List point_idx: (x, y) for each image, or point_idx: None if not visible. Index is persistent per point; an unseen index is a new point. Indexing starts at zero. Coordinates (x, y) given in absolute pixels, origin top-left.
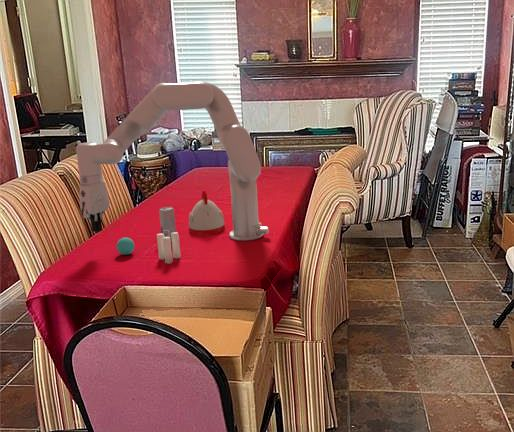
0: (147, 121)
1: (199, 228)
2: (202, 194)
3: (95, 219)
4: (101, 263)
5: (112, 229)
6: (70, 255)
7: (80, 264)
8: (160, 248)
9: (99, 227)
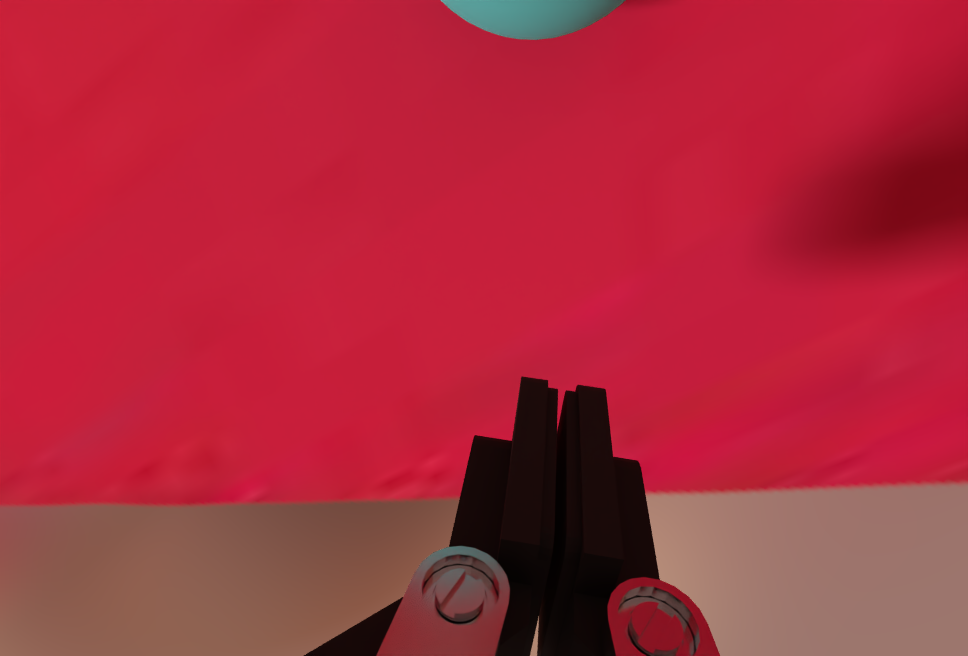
0: None
1: None
2: None
3: (716, 650)
4: (908, 64)
5: (10, 472)
6: None
7: (905, 298)
8: None
9: (594, 434)
